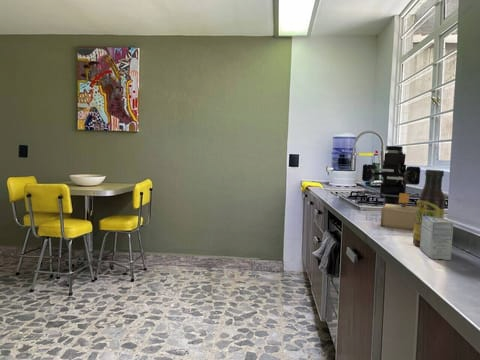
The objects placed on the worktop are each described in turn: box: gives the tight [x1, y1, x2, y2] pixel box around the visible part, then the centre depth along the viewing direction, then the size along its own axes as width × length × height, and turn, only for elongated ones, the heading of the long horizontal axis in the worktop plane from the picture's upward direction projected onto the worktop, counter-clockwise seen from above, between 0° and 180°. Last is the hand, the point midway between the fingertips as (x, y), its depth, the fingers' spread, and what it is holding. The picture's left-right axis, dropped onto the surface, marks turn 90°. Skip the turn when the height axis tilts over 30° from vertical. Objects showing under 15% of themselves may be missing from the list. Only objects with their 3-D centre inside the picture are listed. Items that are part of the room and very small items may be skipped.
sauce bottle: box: [412, 168, 446, 247], centre depth 89 cm, size 6×6×20 cm
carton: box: [380, 206, 416, 231], centre depth 117 cm, size 15×12×6 cm
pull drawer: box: [385, 193, 417, 209], centre depth 120 cm, size 7×12×5 cm, turn 63°
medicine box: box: [419, 216, 454, 261], centre depth 81 cm, size 8×4×9 cm, turn 168°
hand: (388, 175), depth 115 cm, fingers open, 9 cm apart
